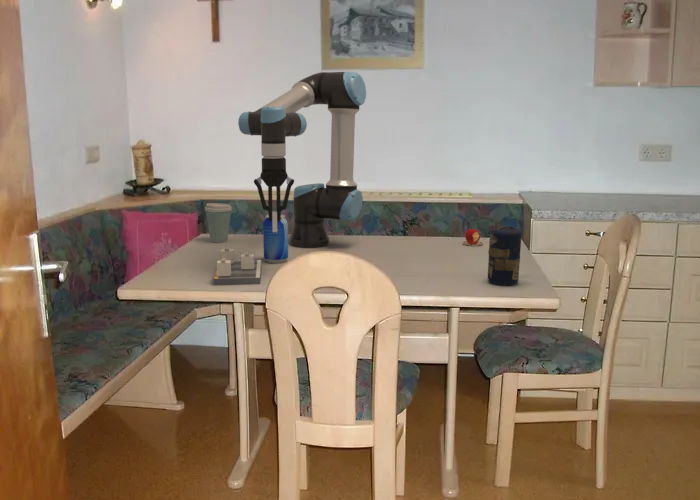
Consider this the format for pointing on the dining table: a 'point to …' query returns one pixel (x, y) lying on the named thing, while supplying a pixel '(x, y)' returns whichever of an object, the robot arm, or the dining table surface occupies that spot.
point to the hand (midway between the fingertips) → (274, 231)
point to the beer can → (275, 241)
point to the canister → (504, 255)
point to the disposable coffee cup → (218, 221)
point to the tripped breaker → (247, 261)
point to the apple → (472, 238)
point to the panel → (235, 270)
